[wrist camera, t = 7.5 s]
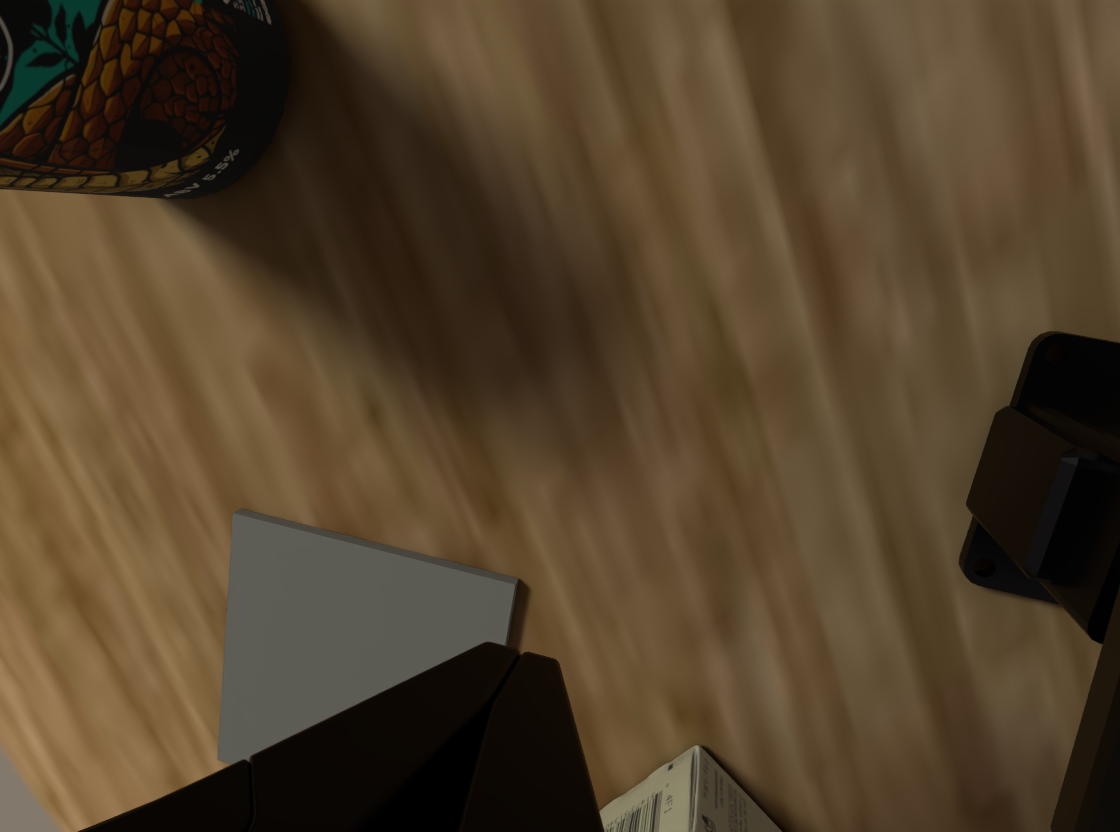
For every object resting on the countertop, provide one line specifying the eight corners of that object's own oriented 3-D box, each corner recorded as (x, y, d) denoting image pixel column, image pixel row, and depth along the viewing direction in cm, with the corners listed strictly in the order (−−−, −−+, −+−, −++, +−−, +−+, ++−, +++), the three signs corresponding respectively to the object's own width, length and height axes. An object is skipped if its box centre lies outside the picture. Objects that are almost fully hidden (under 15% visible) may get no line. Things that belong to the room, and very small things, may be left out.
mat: (518, 578, 23) (515, 584, 23) (476, 829, 25) (472, 837, 25) (240, 508, 24) (233, 512, 24) (224, 752, 27) (217, 759, 26)
